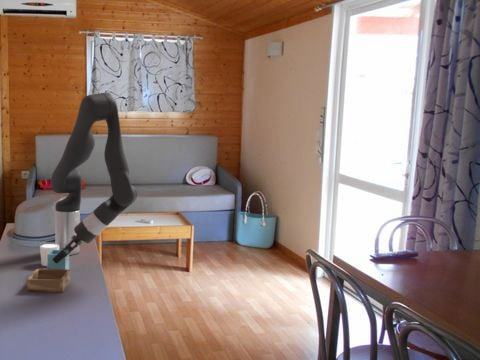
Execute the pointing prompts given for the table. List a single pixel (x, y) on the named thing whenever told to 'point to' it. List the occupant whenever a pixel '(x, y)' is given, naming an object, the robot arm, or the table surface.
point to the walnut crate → (48, 280)
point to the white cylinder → (45, 250)
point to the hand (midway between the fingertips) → (57, 257)
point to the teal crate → (62, 263)
